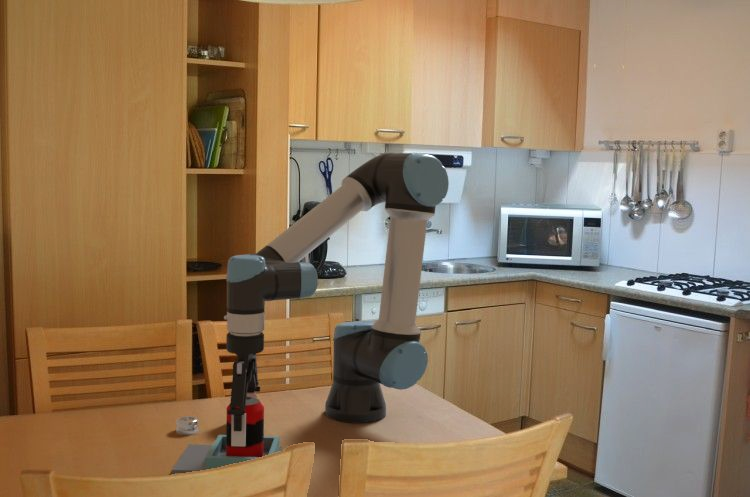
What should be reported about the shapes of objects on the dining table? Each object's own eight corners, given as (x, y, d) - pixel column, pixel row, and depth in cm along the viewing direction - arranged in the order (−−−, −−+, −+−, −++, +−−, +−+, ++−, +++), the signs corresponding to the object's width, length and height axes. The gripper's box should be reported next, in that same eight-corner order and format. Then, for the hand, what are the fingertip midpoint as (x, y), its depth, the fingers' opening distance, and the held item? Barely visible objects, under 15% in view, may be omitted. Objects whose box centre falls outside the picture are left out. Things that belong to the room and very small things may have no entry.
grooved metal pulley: (189, 436, 177) (202, 429, 181) (189, 423, 177) (203, 417, 181) (171, 432, 179) (185, 426, 184) (171, 420, 179) (185, 413, 183)
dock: (282, 451, 169) (282, 435, 169) (273, 477, 155) (273, 460, 155) (188, 448, 169) (188, 433, 169) (172, 474, 155) (172, 457, 155)
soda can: (264, 451, 166) (265, 395, 165) (261, 464, 159) (262, 407, 158) (228, 451, 166) (229, 395, 165) (223, 464, 158) (224, 406, 157)
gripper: (237, 319, 172) (236, 413, 174) (214, 345, 147) (213, 455, 149) (272, 320, 172) (270, 414, 174) (254, 347, 147) (253, 457, 149)
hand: (244, 433), depth 162 cm, fingers open, 13 cm apart
